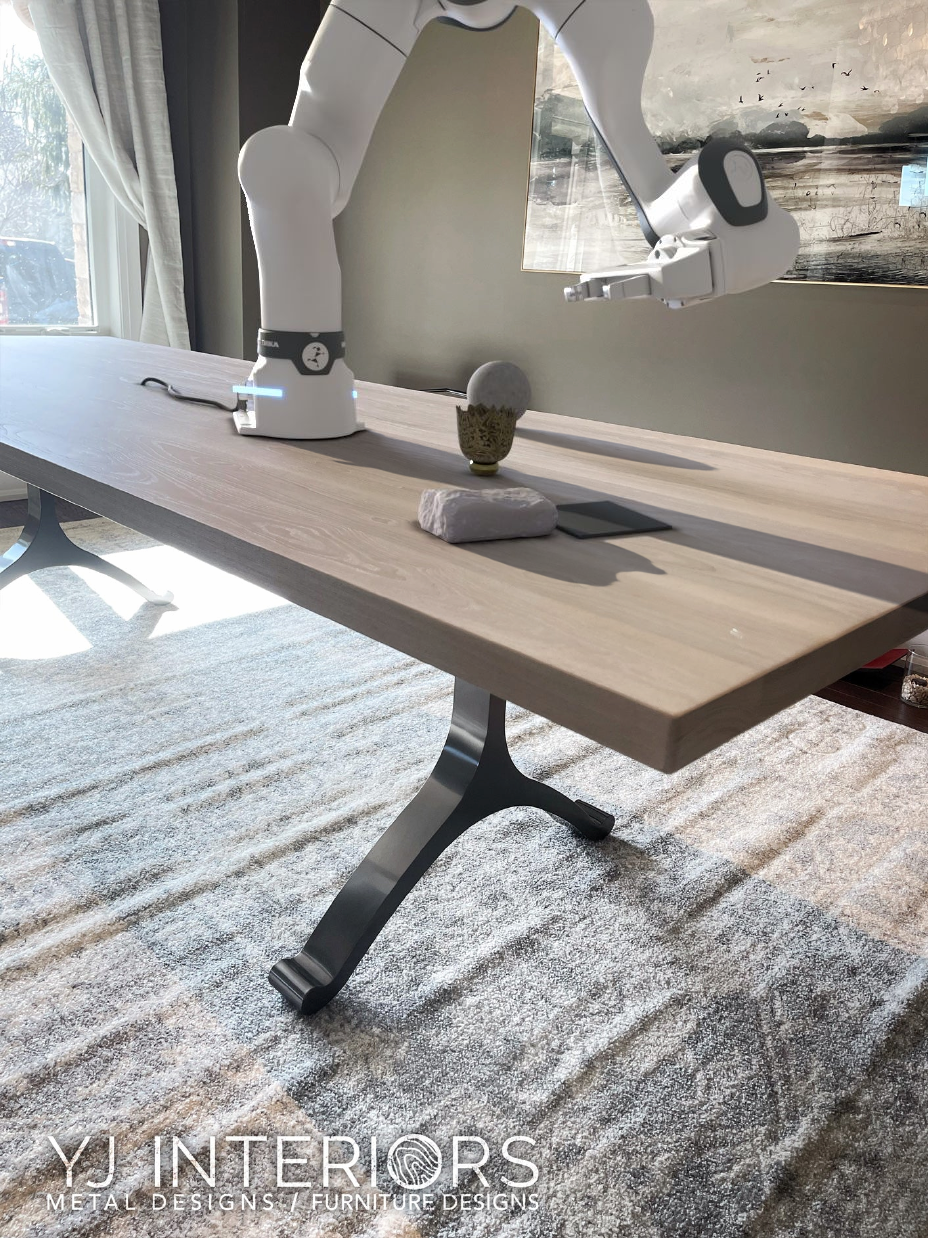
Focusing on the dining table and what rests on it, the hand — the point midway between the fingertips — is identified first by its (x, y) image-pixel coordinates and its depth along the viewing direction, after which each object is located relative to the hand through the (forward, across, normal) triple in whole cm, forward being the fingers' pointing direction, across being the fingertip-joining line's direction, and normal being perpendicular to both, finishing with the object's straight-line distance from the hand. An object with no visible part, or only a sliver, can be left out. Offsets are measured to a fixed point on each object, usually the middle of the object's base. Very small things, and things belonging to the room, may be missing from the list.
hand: (586, 294), depth 113 cm
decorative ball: (+1, -33, +19) cm, 38 cm away
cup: (+17, -1, +18) cm, 25 cm away
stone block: (+27, +22, +17) cm, 39 cm away
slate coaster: (+15, +22, +20) cm, 33 cm away
